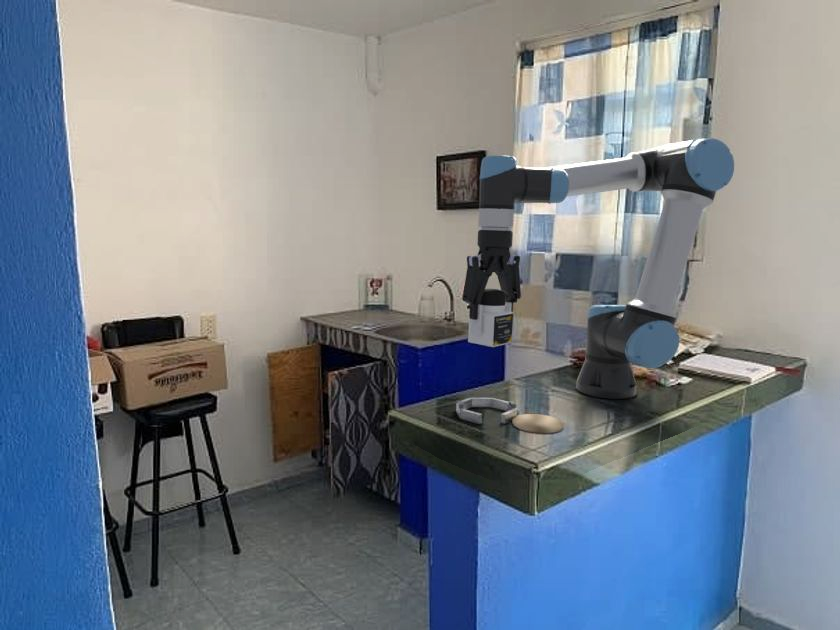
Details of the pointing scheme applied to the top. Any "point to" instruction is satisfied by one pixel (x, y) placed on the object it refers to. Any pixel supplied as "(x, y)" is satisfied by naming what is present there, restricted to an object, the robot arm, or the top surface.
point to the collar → (485, 402)
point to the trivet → (537, 423)
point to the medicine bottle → (493, 320)
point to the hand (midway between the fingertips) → (490, 332)
